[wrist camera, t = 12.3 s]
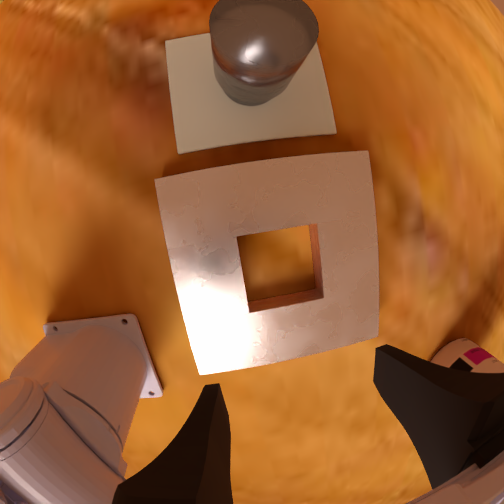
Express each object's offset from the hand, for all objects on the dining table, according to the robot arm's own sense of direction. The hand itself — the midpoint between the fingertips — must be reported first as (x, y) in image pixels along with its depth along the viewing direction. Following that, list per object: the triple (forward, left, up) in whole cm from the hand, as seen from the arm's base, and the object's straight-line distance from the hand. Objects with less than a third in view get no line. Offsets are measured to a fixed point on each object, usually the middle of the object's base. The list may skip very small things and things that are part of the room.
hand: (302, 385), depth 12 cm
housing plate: (+1, +3, -10) cm, 10 cm away
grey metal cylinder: (+1, +16, -9) cm, 19 cm away
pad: (+1, +16, -10) cm, 19 cm away
